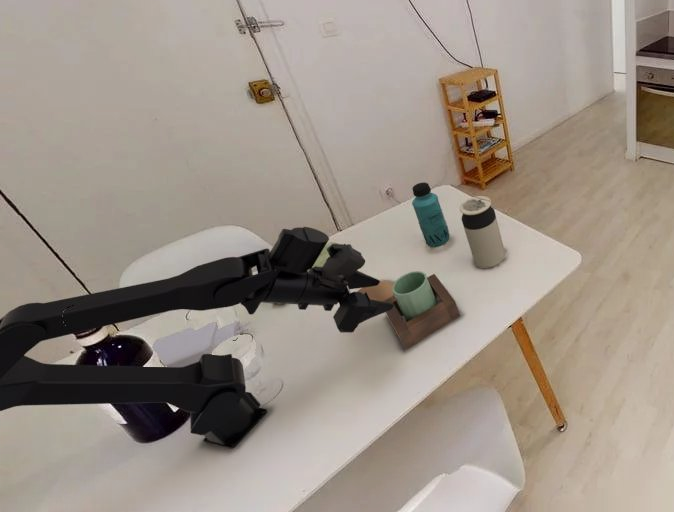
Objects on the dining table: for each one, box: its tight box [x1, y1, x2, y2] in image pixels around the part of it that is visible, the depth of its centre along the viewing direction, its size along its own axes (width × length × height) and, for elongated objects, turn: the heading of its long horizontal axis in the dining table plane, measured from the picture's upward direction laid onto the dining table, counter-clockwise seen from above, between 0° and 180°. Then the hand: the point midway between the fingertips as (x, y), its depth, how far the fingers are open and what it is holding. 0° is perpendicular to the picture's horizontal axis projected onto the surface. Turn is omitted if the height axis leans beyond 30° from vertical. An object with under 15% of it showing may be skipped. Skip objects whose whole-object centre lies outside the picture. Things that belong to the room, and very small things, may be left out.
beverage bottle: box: [411, 181, 451, 249], centre depth 111 cm, size 6×7×20 cm
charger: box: [151, 320, 251, 367], centre depth 87 cm, size 5×9×15 cm
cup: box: [392, 270, 438, 323], centre depth 91 cm, size 7×7×11 cm
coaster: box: [357, 280, 394, 301], centre depth 99 cm, size 10×10×1 cm
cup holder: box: [382, 273, 461, 350], centre depth 93 cm, size 12×12×5 cm
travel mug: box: [459, 195, 506, 269], centre depth 106 cm, size 8×8×18 cm
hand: (385, 294), depth 86 cm, fingers open, 9 cm apart
